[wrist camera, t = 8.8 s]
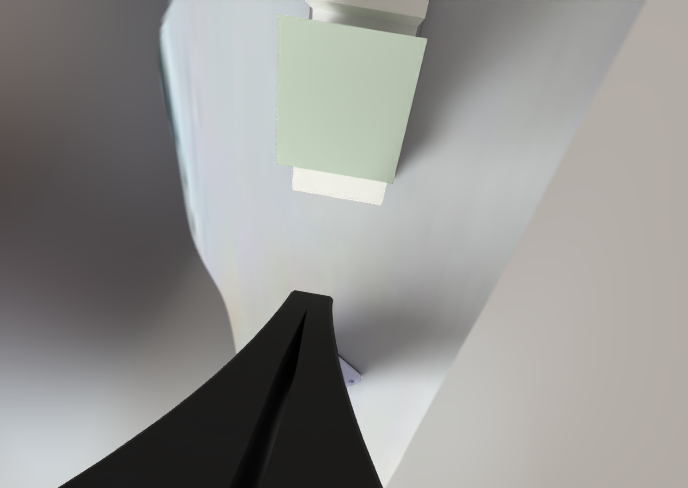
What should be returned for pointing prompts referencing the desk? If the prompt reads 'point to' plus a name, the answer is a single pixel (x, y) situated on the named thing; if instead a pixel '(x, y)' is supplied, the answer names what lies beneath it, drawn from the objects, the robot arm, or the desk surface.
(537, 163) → the desk surface
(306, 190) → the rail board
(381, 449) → the desk surface
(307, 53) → the sage module
